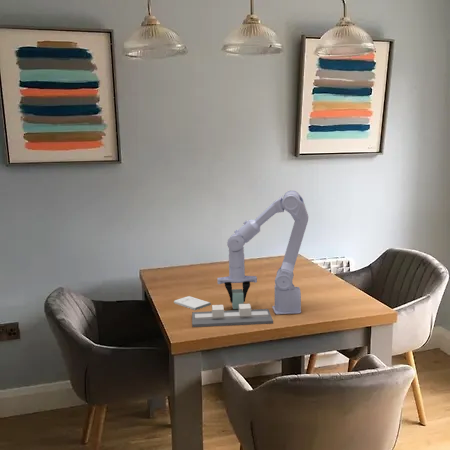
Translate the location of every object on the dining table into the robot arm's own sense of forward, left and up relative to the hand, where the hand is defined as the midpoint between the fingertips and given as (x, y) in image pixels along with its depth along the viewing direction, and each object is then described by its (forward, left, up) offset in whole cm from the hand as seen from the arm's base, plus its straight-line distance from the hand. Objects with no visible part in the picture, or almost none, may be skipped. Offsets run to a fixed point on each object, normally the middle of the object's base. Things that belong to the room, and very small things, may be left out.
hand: (237, 301), depth 200 cm
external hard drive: (+17, -8, -4) cm, 19 cm away
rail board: (+3, +10, -3) cm, 11 cm away
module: (0, 0, -2) cm, 2 cm away
